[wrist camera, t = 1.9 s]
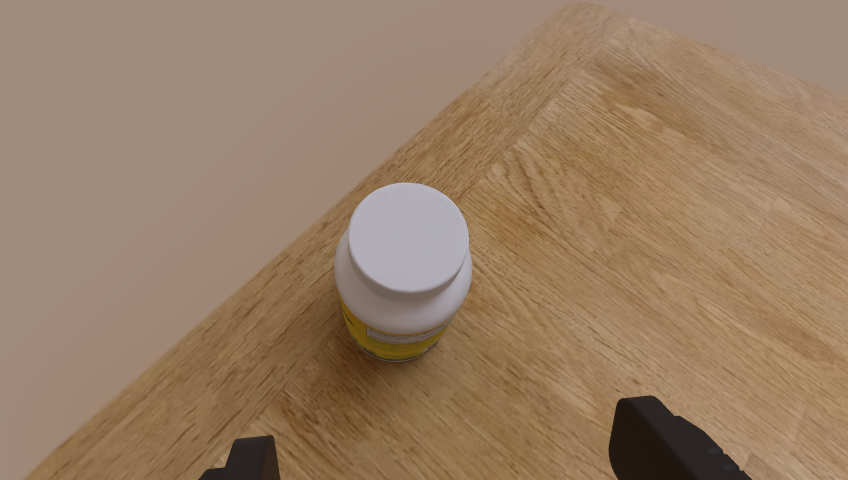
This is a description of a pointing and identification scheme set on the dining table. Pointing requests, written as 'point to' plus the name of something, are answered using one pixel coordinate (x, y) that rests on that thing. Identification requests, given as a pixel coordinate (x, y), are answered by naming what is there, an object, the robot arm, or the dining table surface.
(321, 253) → the dining table surface
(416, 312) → the pill bottle
